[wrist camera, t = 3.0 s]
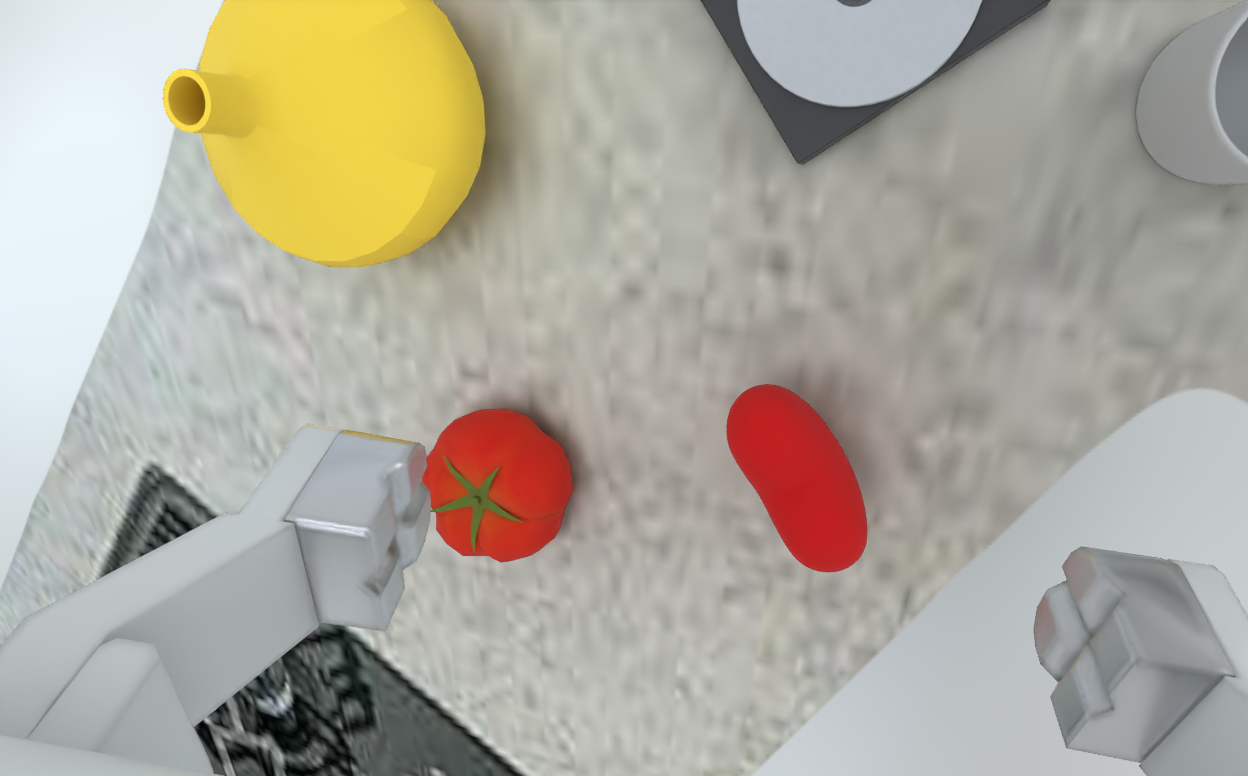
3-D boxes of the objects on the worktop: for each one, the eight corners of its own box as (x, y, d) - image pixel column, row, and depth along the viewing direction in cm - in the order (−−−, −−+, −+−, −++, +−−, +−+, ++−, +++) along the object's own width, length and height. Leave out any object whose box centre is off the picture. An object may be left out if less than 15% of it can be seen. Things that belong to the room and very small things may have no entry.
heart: (891, 501, 53) (890, 569, 43) (817, 533, 55) (800, 605, 46) (801, 346, 52) (780, 381, 43) (729, 385, 54) (694, 426, 45)
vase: (327, 270, 62) (100, 306, 44) (272, 15, 58) (2, -56, 41) (545, 239, 56) (383, 267, 38) (499, -48, 52) (296, -163, 35)
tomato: (501, 369, 59) (449, 394, 52) (614, 468, 58) (576, 507, 51) (430, 469, 63) (373, 505, 56) (535, 563, 62) (490, 611, 56)
